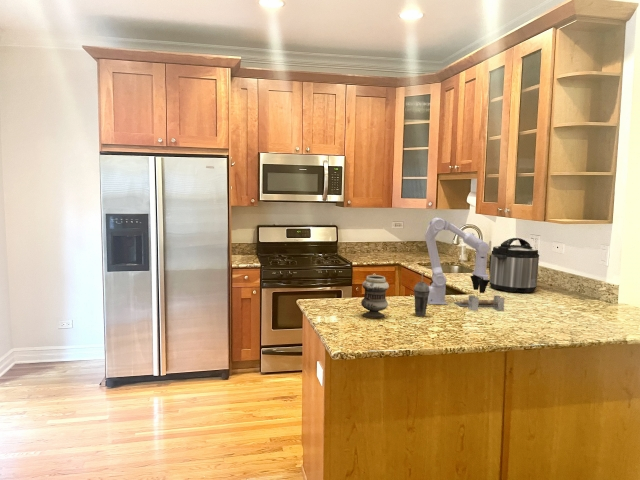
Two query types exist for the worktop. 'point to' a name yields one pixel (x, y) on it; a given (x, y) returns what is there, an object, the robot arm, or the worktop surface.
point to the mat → (467, 305)
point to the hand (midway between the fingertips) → (478, 291)
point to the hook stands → (474, 302)
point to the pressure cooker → (514, 267)
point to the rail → (483, 302)
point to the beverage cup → (421, 298)
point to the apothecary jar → (375, 296)
